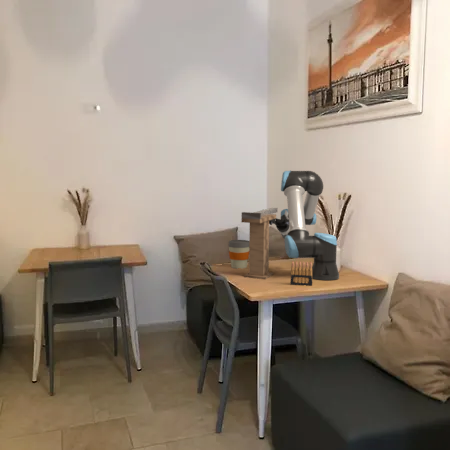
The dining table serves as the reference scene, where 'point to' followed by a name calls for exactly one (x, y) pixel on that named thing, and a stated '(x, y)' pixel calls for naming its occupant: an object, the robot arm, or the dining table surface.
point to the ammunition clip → (305, 275)
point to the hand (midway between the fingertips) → (274, 211)
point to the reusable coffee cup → (239, 253)
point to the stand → (258, 244)
